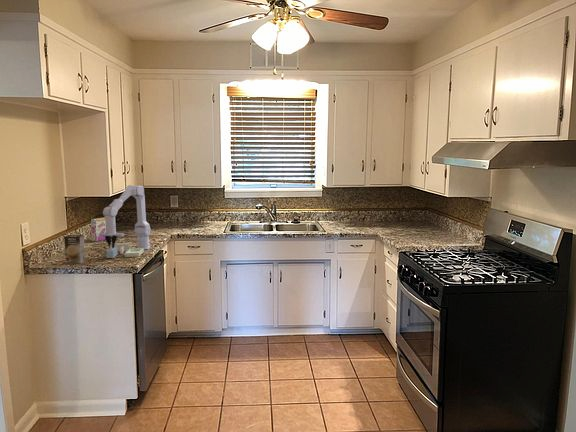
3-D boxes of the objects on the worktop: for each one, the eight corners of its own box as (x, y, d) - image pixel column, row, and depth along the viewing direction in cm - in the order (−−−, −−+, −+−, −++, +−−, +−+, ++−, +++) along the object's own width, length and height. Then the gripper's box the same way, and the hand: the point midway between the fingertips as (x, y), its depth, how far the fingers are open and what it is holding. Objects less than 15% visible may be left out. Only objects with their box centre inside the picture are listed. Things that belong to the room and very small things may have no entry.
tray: (130, 252, 292) (130, 248, 292) (143, 251, 293) (143, 248, 293) (124, 257, 278) (124, 253, 277) (138, 256, 279) (138, 252, 278)
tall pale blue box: (111, 254, 282) (110, 242, 281) (117, 254, 282) (117, 242, 281) (106, 258, 272) (105, 246, 271) (113, 257, 273) (112, 246, 272)
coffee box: (65, 263, 261) (63, 236, 259) (70, 261, 267) (68, 234, 265) (81, 263, 261) (79, 236, 259) (85, 260, 267) (84, 234, 265)
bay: (109, 251, 295) (109, 243, 294) (130, 250, 296) (129, 243, 296) (105, 254, 286) (105, 246, 285) (126, 253, 288) (126, 245, 287)
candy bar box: (96, 241, 325) (94, 219, 323) (91, 241, 328) (90, 219, 325) (108, 239, 335) (107, 217, 333) (104, 238, 337) (103, 217, 335)
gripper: (96, 227, 270) (97, 249, 272) (121, 227, 272) (122, 249, 274) (100, 225, 277) (101, 247, 279) (124, 225, 279) (125, 246, 280)
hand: (111, 247), depth 277 cm, fingers closed on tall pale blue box
